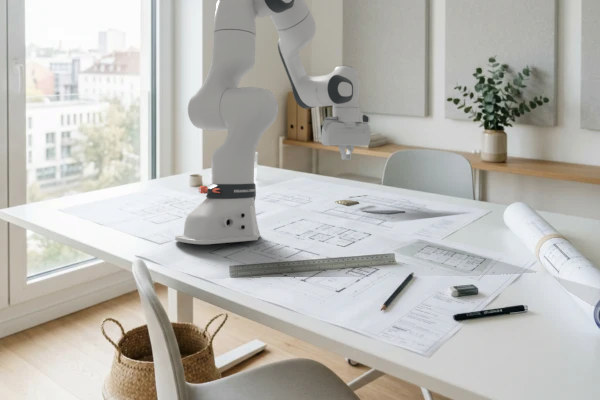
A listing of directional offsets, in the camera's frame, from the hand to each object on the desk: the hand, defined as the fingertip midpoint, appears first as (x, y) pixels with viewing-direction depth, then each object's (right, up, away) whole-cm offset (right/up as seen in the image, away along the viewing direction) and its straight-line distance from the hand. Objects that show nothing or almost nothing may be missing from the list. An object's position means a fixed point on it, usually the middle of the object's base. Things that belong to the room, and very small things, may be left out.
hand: (346, 159), depth 197 cm
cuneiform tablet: (+4, -14, -4) cm, 15 cm away
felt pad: (+11, -17, -10) cm, 22 cm away
